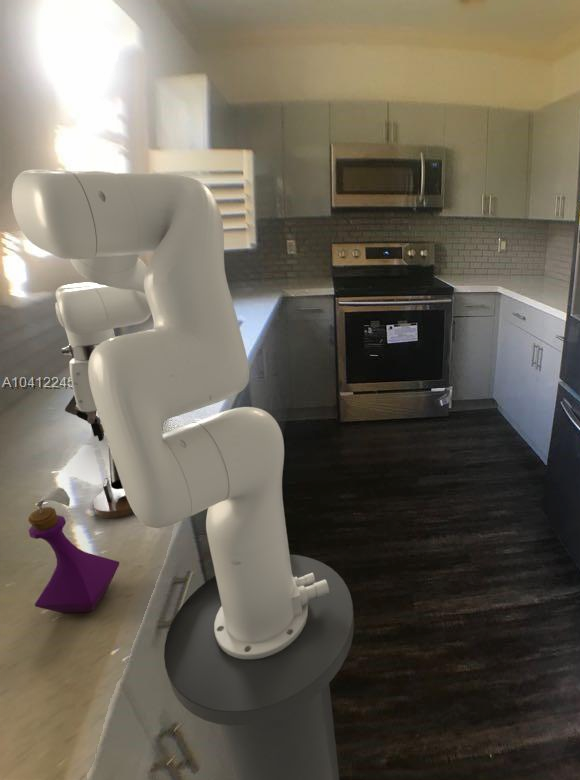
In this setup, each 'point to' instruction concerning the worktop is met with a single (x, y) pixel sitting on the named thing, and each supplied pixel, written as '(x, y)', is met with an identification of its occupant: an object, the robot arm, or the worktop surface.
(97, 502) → the holder base
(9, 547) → the worktop surface
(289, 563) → the robot arm
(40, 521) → the perfume bottle
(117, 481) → the rod
